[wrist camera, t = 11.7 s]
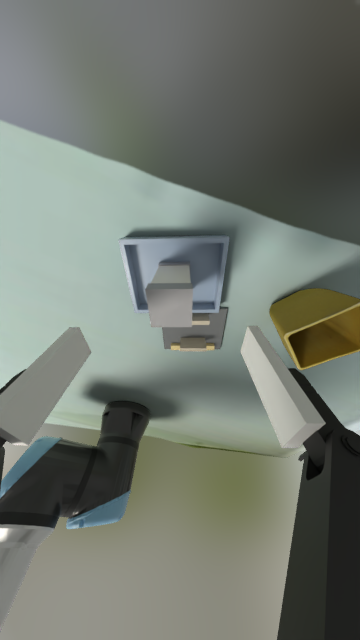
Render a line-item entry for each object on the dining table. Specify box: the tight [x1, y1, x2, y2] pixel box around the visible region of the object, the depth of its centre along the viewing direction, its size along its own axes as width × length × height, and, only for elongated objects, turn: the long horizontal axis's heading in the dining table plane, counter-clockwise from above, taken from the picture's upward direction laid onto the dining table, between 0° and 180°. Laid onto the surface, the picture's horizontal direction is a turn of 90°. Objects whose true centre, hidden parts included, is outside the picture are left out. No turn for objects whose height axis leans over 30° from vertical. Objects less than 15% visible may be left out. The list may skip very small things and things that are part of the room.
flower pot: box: [270, 288, 360, 370], centre depth 23 cm, size 9×9×9 cm
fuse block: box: [162, 308, 227, 351], centre depth 29 cm, size 12×10×4 cm
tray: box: [118, 235, 230, 313], centre depth 23 cm, size 14×11×2 cm
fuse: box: [145, 261, 193, 327], centre depth 20 cm, size 4×4×10 cm
